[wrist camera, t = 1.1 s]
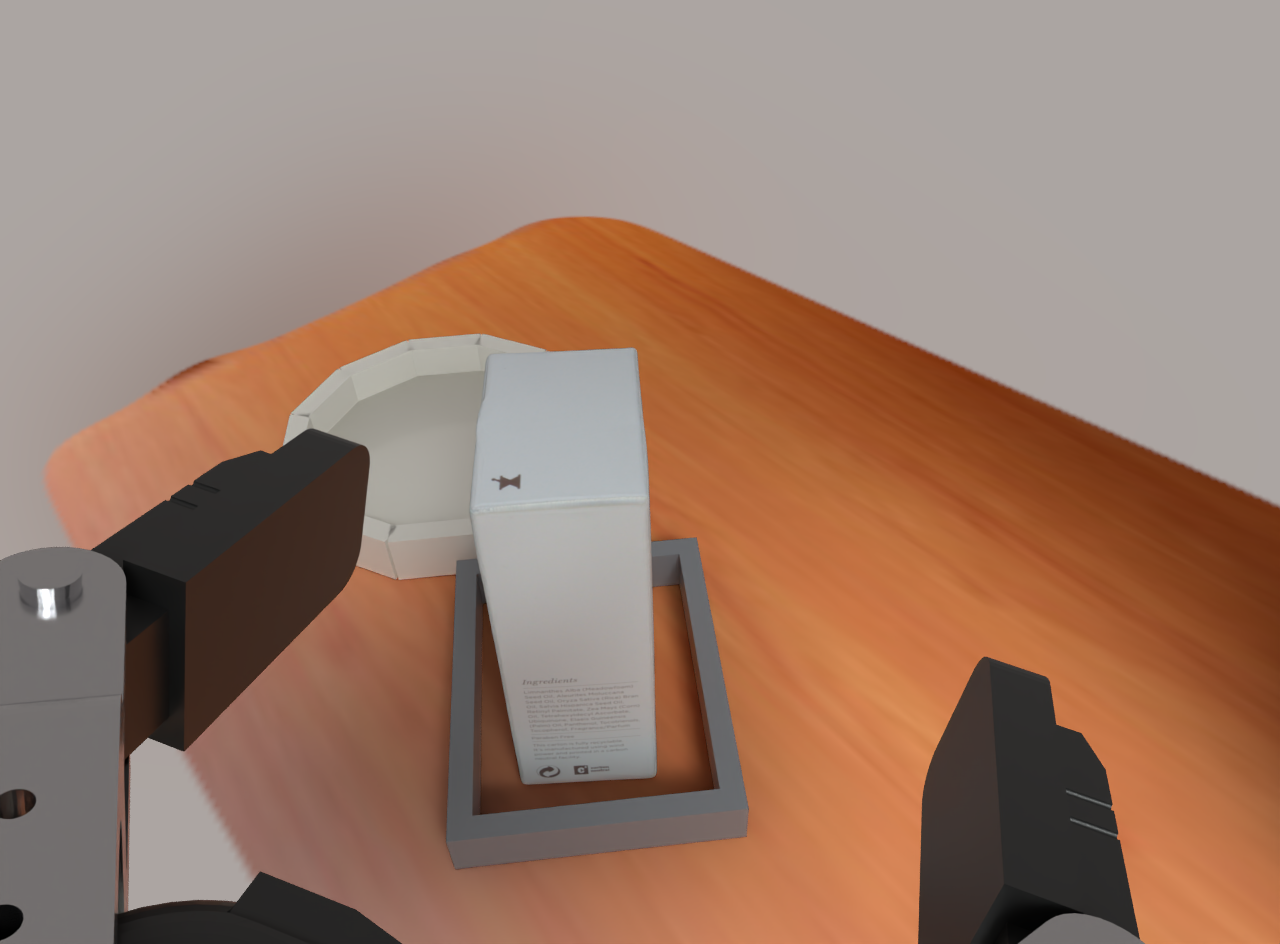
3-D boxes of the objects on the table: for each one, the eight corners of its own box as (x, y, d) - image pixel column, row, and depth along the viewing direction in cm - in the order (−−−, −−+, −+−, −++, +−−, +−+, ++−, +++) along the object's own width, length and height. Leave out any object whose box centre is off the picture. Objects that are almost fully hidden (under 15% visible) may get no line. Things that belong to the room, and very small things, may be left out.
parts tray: (696, 567, 38) (696, 537, 36) (746, 836, 30) (748, 808, 29) (463, 590, 37) (456, 560, 36) (455, 869, 30) (446, 842, 29)
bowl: (585, 361, 47) (582, 324, 45) (606, 559, 38) (603, 521, 37) (316, 384, 46) (304, 348, 45) (274, 592, 37) (258, 554, 36)
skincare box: (661, 782, 31) (652, 502, 23) (520, 790, 31) (461, 513, 23) (651, 623, 36) (640, 341, 28) (527, 630, 36) (479, 349, 28)
